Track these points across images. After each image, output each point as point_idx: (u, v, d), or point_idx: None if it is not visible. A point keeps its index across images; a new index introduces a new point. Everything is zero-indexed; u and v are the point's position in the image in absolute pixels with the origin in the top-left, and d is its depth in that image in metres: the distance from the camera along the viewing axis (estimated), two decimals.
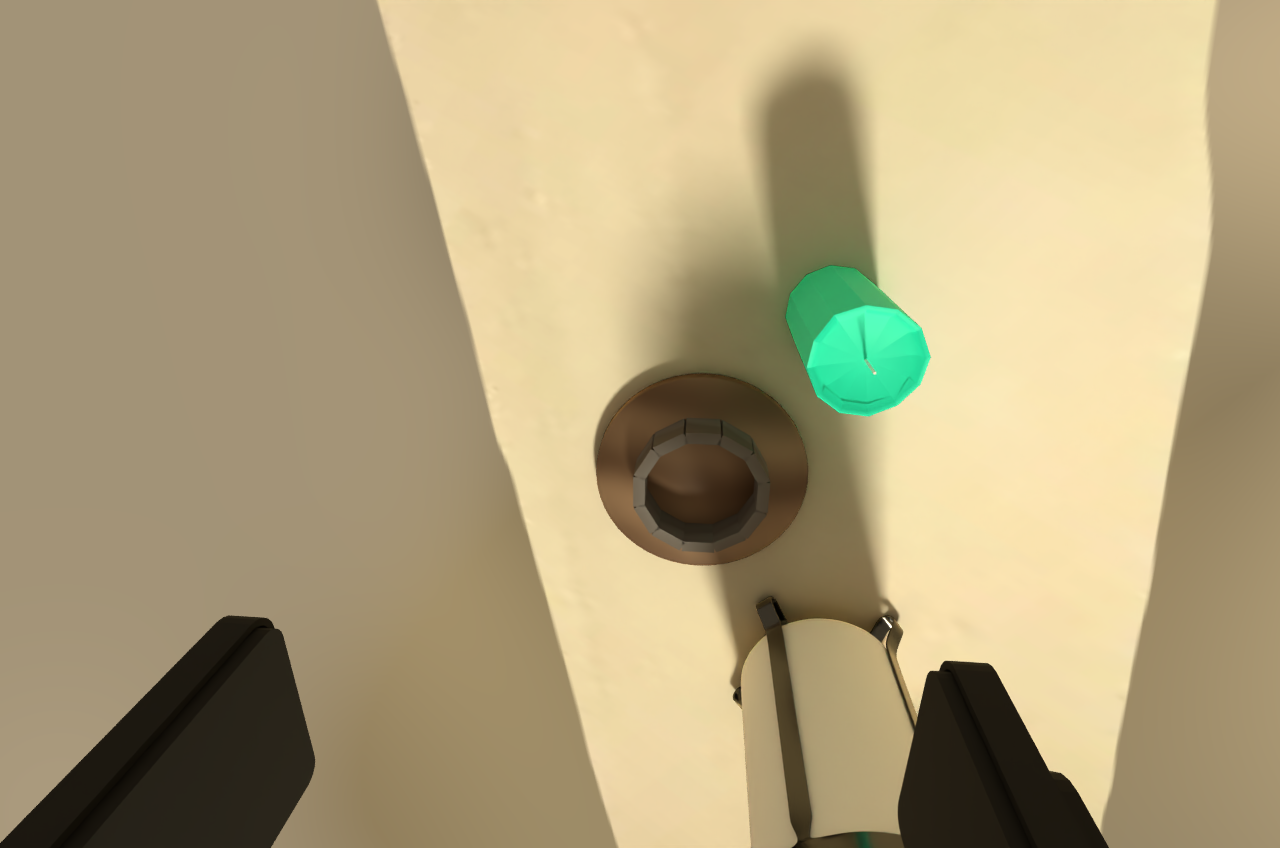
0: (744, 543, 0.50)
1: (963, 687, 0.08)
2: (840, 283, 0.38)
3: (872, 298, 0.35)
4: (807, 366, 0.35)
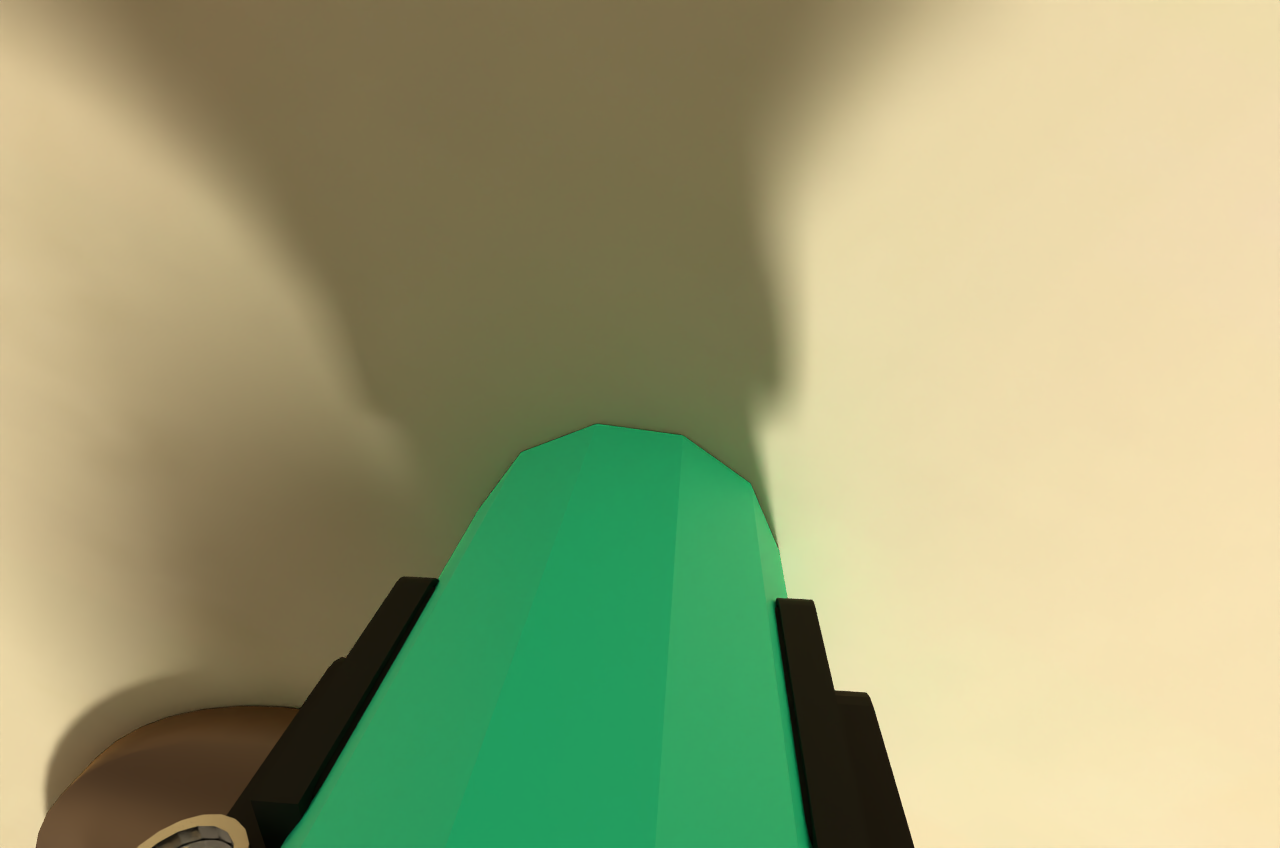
0: None
1: (783, 618, 0.10)
2: (513, 605, 0.08)
3: None
4: None
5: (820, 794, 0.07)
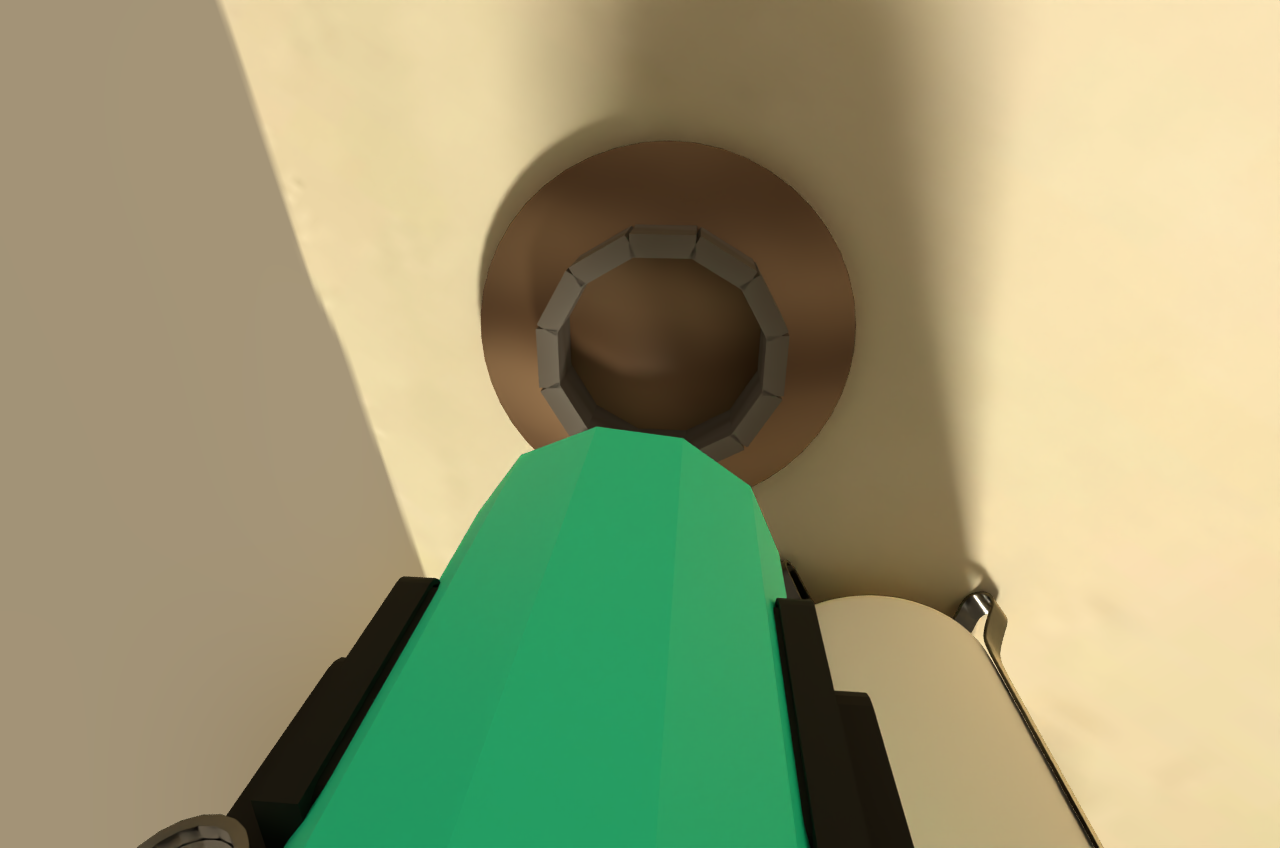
0: (742, 464, 0.29)
1: (782, 618, 0.10)
2: (512, 609, 0.08)
3: None
4: None
5: (820, 794, 0.07)
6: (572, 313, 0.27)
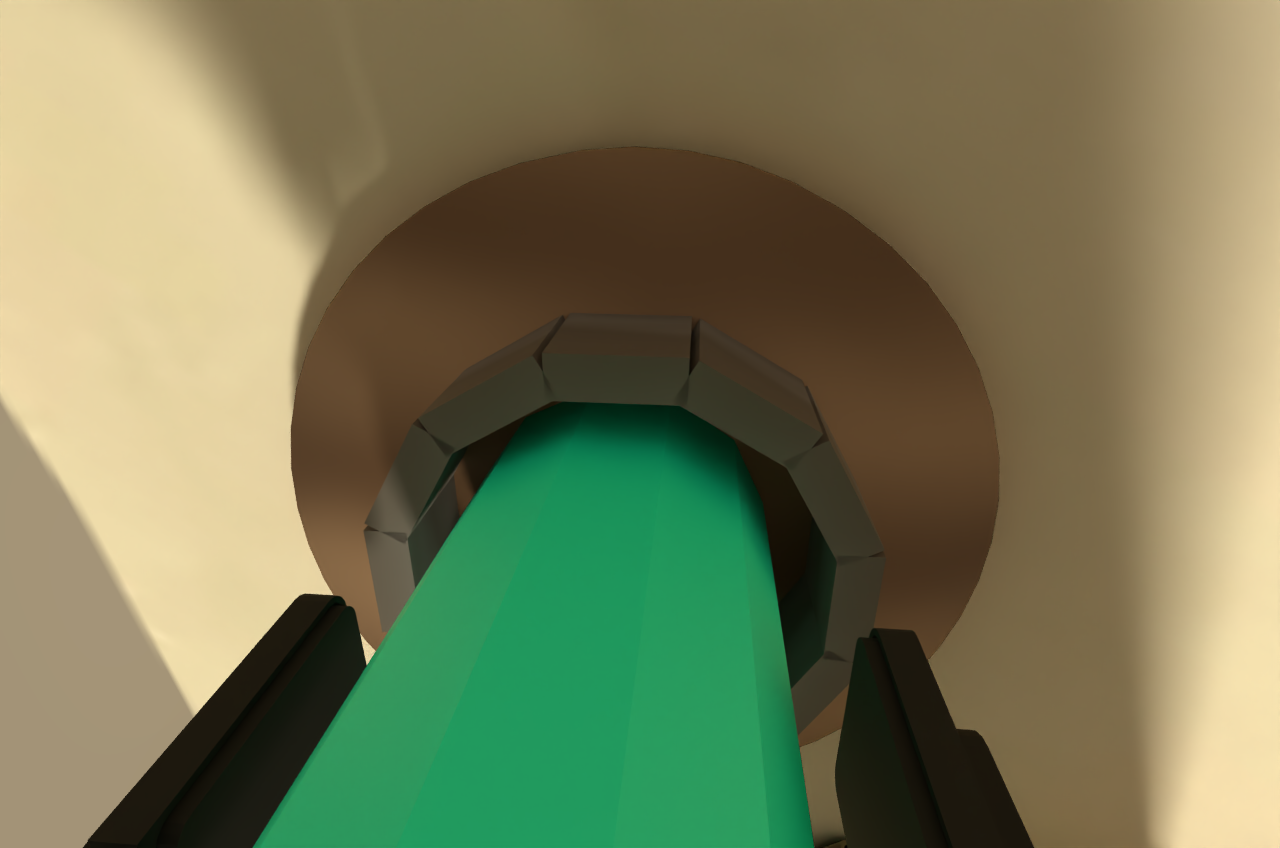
0: None
1: (885, 650, 0.09)
2: (518, 527, 0.09)
3: (512, 780, 0.05)
4: None
5: None
6: (458, 470, 0.14)
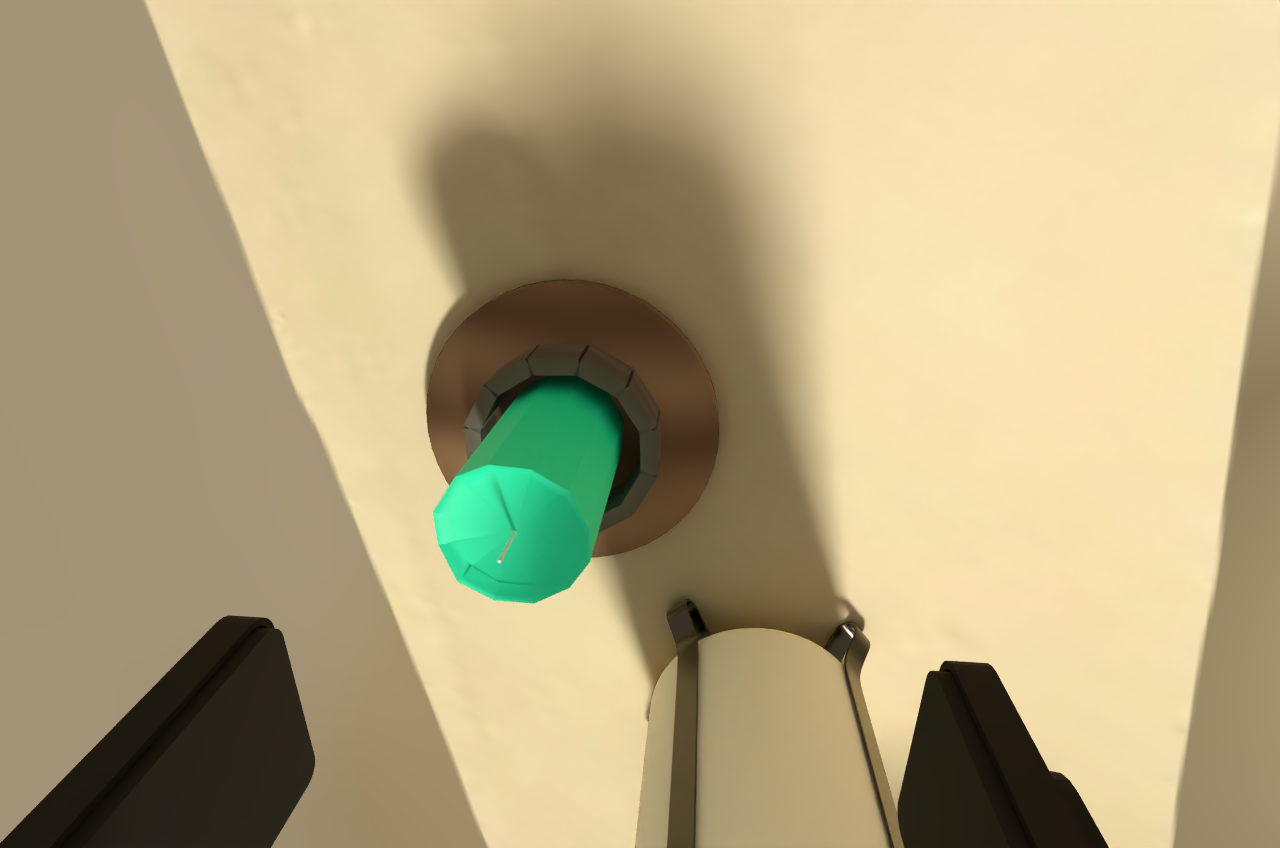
0: (641, 524, 0.36)
1: (963, 687, 0.08)
2: (521, 411, 0.29)
3: (519, 446, 0.25)
4: (439, 542, 0.26)
5: None
6: (497, 410, 0.35)
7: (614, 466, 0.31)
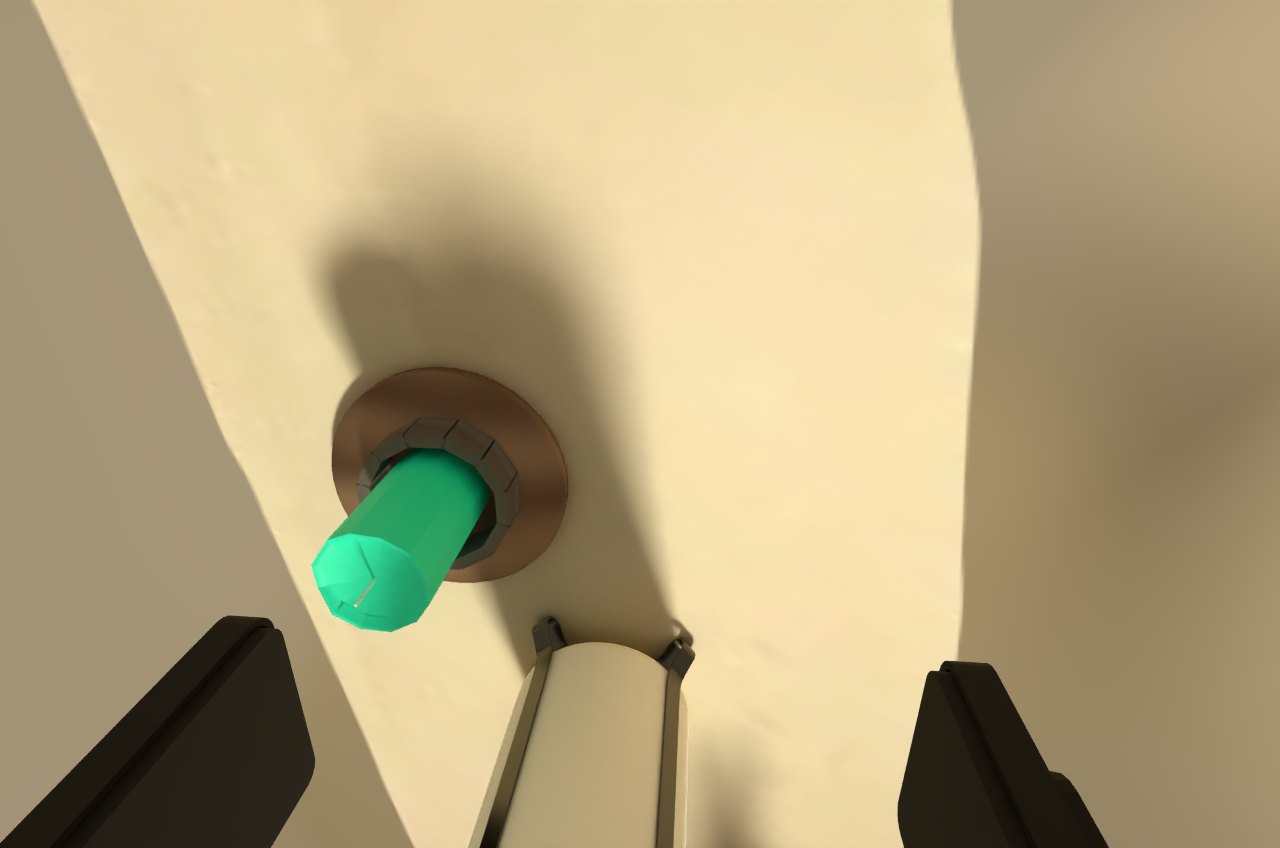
0: (507, 558, 0.45)
1: (963, 687, 0.08)
2: (393, 480, 0.37)
3: (379, 515, 0.34)
4: (318, 585, 0.34)
5: None
6: (388, 466, 0.43)
7: (473, 519, 0.40)
